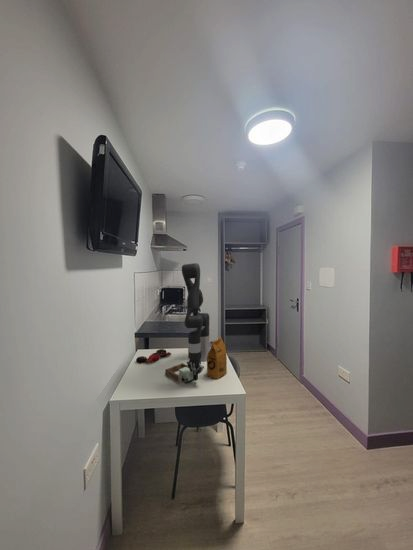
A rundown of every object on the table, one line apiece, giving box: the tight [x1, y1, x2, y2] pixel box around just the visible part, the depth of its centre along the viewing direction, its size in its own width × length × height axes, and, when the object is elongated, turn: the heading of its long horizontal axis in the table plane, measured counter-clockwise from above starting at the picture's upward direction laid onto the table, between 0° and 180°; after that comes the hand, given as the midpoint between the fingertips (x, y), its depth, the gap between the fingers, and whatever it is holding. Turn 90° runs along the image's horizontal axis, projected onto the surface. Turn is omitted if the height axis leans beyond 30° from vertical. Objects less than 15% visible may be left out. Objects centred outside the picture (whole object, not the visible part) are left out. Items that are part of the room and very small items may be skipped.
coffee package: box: [206, 336, 228, 380], centre depth 144 cm, size 10×12×22 cm
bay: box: [164, 363, 189, 384], centre depth 144 cm, size 14×15×5 cm
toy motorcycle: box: [135, 348, 172, 364], centre depth 171 cm, size 25×5×16 cm
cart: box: [178, 367, 193, 384], centre depth 139 cm, size 9×7×5 cm
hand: (195, 380), depth 134 cm, fingers closed
